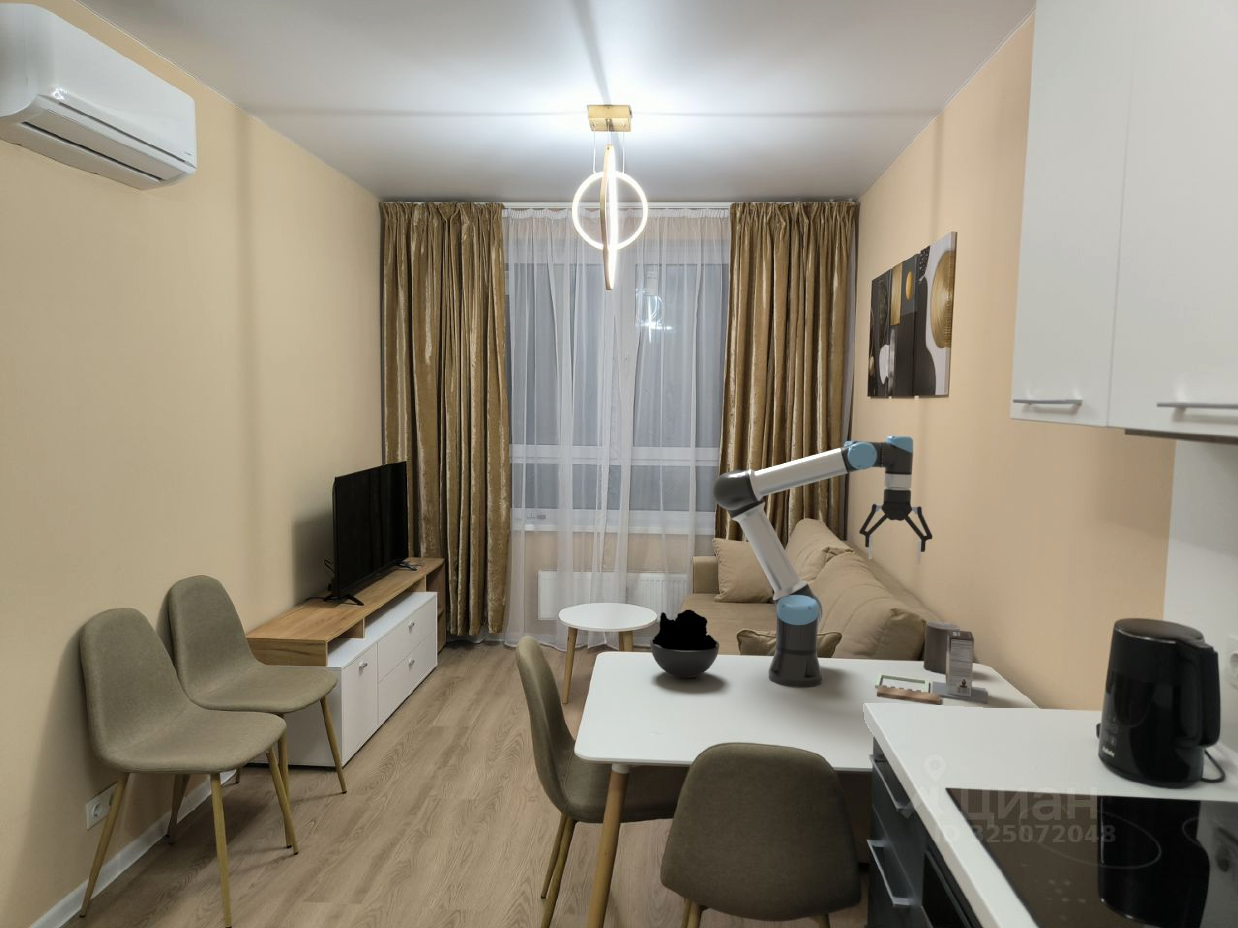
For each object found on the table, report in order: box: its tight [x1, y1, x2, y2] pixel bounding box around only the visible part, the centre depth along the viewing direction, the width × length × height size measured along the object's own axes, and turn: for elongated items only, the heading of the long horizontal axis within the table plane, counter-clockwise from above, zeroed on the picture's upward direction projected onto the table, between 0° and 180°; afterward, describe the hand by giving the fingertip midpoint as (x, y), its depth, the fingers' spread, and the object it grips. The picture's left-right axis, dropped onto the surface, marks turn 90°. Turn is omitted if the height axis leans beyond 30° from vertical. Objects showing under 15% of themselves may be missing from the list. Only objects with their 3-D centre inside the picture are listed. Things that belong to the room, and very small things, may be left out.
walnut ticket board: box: [876, 685, 941, 706], centre depth 220 cm, size 16×6×1 cm, turn 68°
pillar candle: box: [923, 620, 961, 674], centre depth 247 cm, size 10×10×15 cm
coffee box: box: [945, 630, 975, 697], centre depth 224 cm, size 9×6×16 cm
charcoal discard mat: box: [931, 681, 989, 704], centre depth 224 cm, size 14×12×1 cm
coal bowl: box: [649, 609, 720, 679], centre depth 232 cm, size 20×20×19 cm
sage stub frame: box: [874, 672, 930, 693], centre depth 230 cm, size 14×12×1 cm
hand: (894, 560), depth 236 cm, fingers open, 13 cm apart
